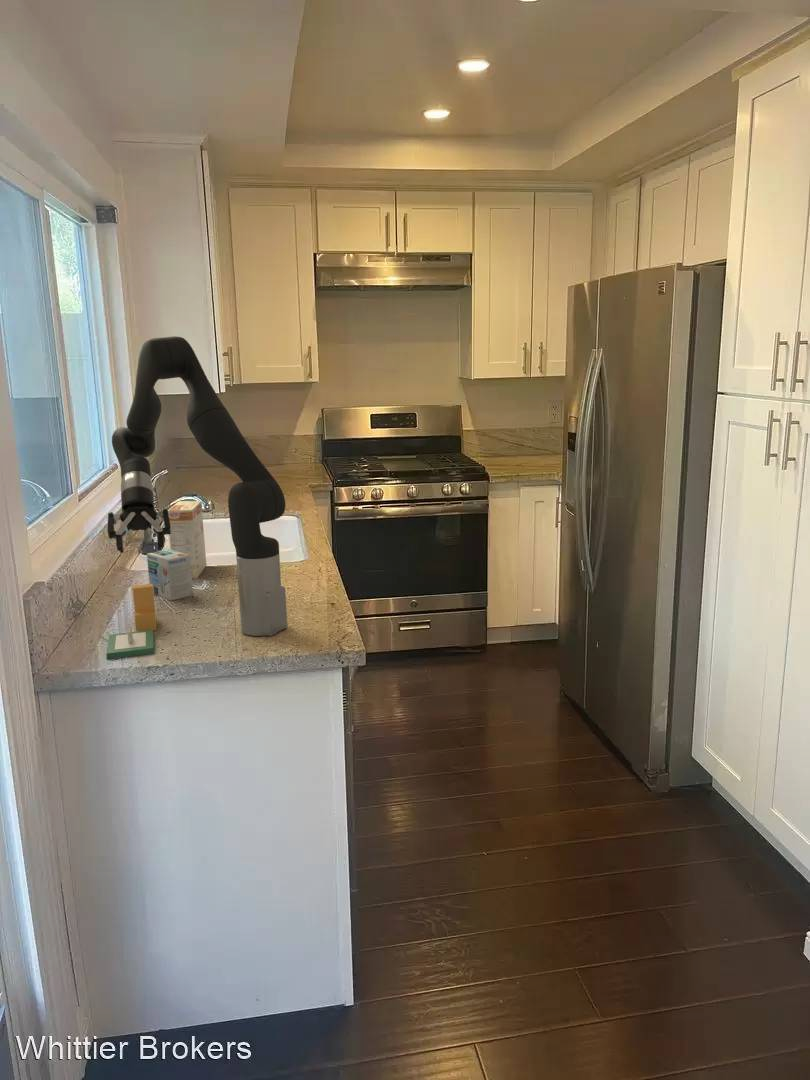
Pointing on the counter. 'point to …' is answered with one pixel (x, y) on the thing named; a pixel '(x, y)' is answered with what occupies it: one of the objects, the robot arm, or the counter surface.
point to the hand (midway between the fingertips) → (140, 549)
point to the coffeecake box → (188, 533)
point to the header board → (130, 644)
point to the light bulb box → (170, 574)
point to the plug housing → (144, 607)
